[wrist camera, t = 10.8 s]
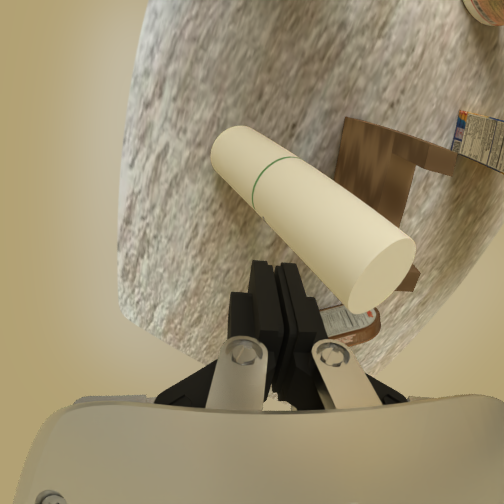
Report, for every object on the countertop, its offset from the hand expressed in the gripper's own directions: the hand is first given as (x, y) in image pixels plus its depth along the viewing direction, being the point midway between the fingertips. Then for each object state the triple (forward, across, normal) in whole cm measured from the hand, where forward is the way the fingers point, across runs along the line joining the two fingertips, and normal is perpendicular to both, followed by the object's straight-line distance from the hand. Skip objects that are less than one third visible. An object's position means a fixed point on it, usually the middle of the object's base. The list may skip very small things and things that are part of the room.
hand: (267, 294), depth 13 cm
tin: (+32, -18, +25) cm, 45 cm away
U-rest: (+32, -14, 0) cm, 35 cm away
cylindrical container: (+30, +1, 0) cm, 31 cm away
